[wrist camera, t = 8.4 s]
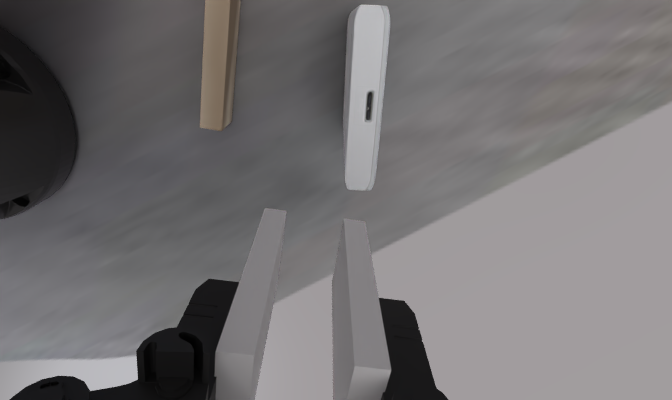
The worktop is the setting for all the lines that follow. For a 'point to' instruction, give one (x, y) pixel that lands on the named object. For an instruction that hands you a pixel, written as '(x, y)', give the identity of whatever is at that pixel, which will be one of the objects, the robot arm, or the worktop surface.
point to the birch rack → (219, 62)
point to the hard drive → (364, 93)
